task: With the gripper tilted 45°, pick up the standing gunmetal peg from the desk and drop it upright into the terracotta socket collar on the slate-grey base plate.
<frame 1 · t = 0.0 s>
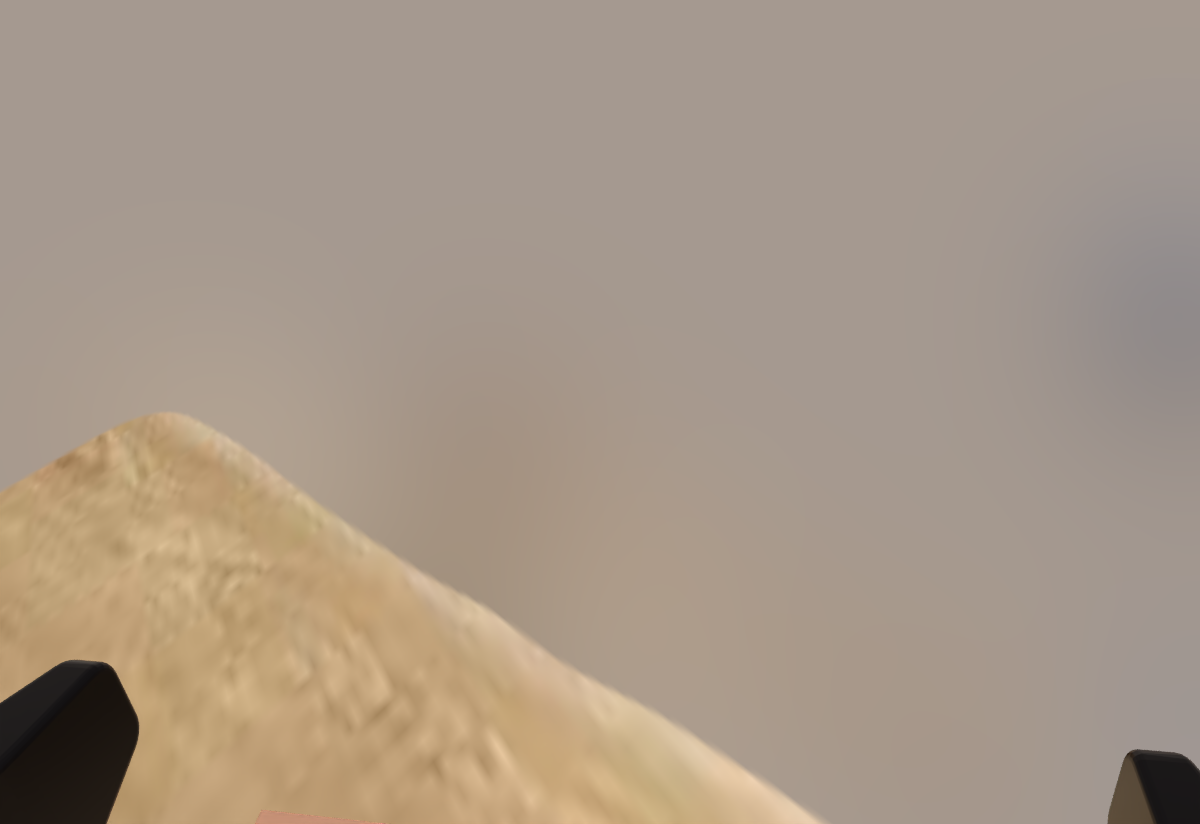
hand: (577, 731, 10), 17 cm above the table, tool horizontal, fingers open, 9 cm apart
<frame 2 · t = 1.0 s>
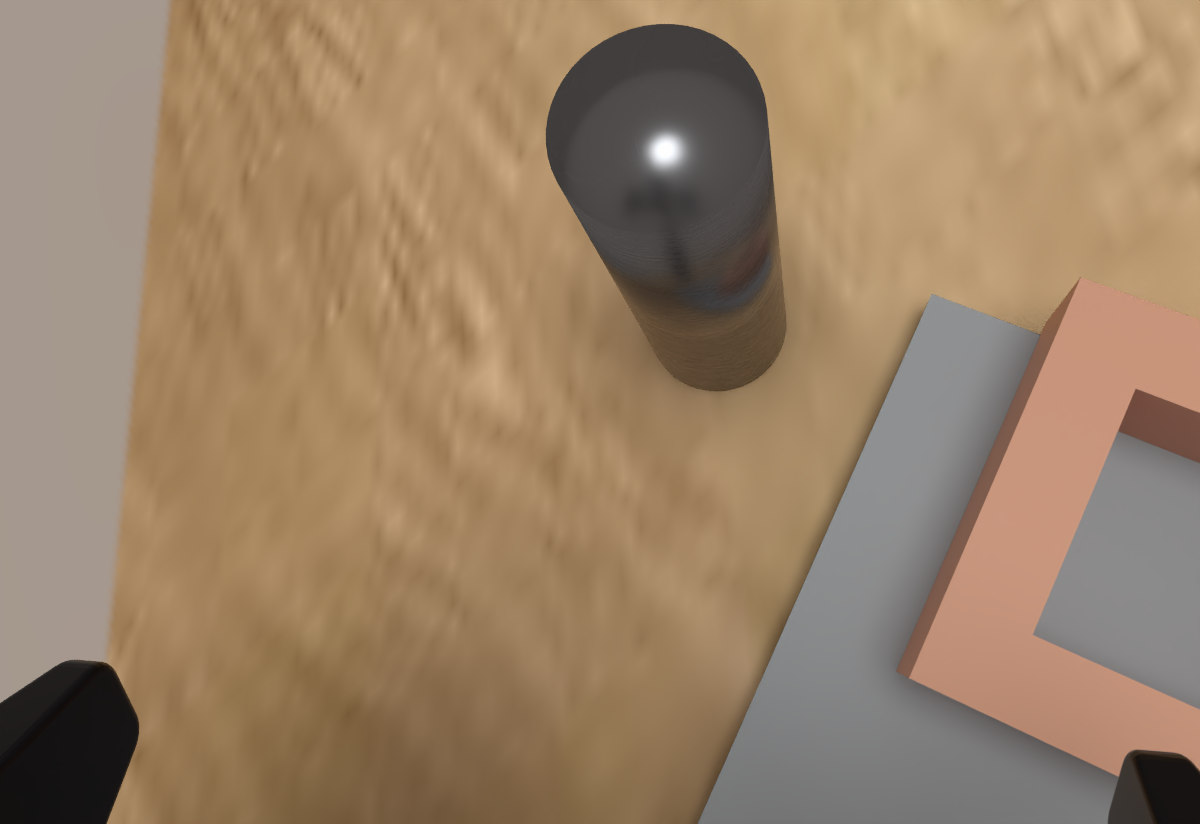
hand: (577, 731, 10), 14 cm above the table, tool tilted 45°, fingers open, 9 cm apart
peg: (717, 325, 24), on the table
socket base: (1147, 578, 22), on the table
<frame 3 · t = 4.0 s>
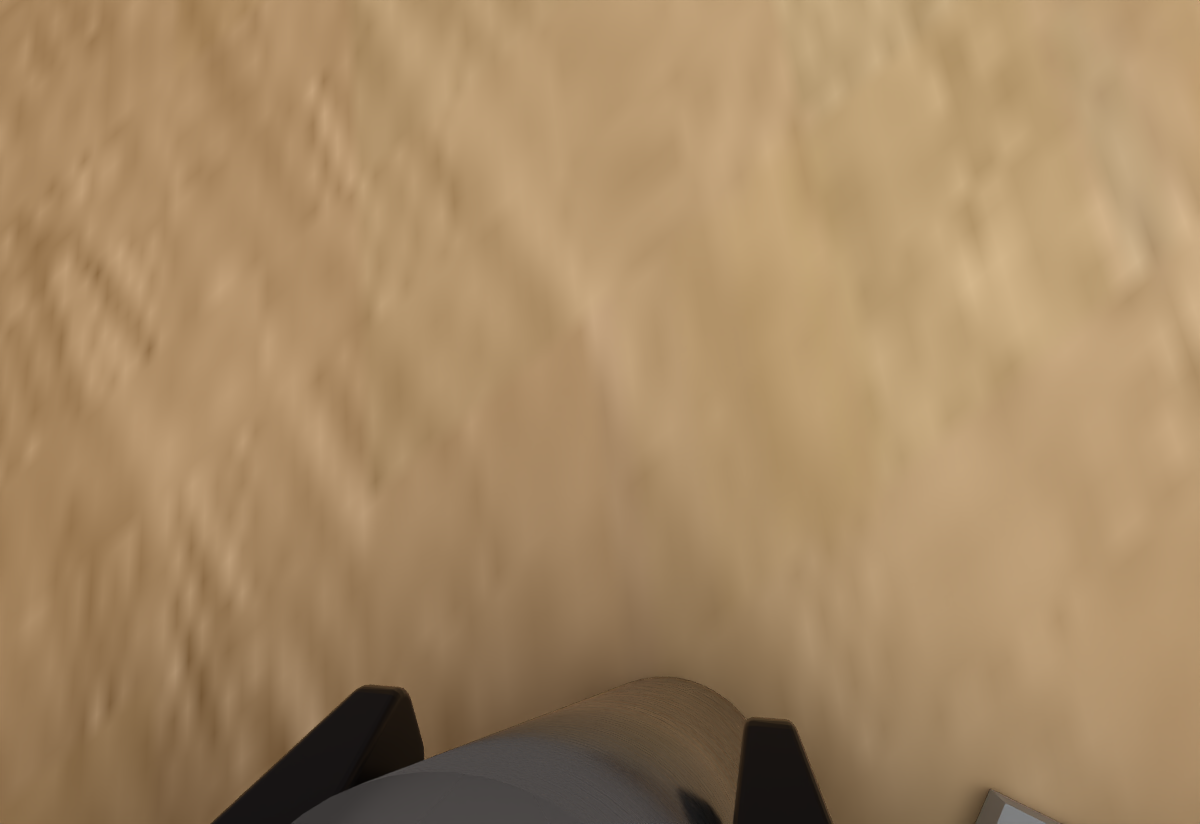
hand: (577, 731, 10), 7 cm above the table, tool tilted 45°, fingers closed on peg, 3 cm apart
peg: (664, 783, 16), on the table, touching gripper
when the fingers open (10 cm above the table, at t = 7.2 s): peg drops 2 cm, resting on socket base.
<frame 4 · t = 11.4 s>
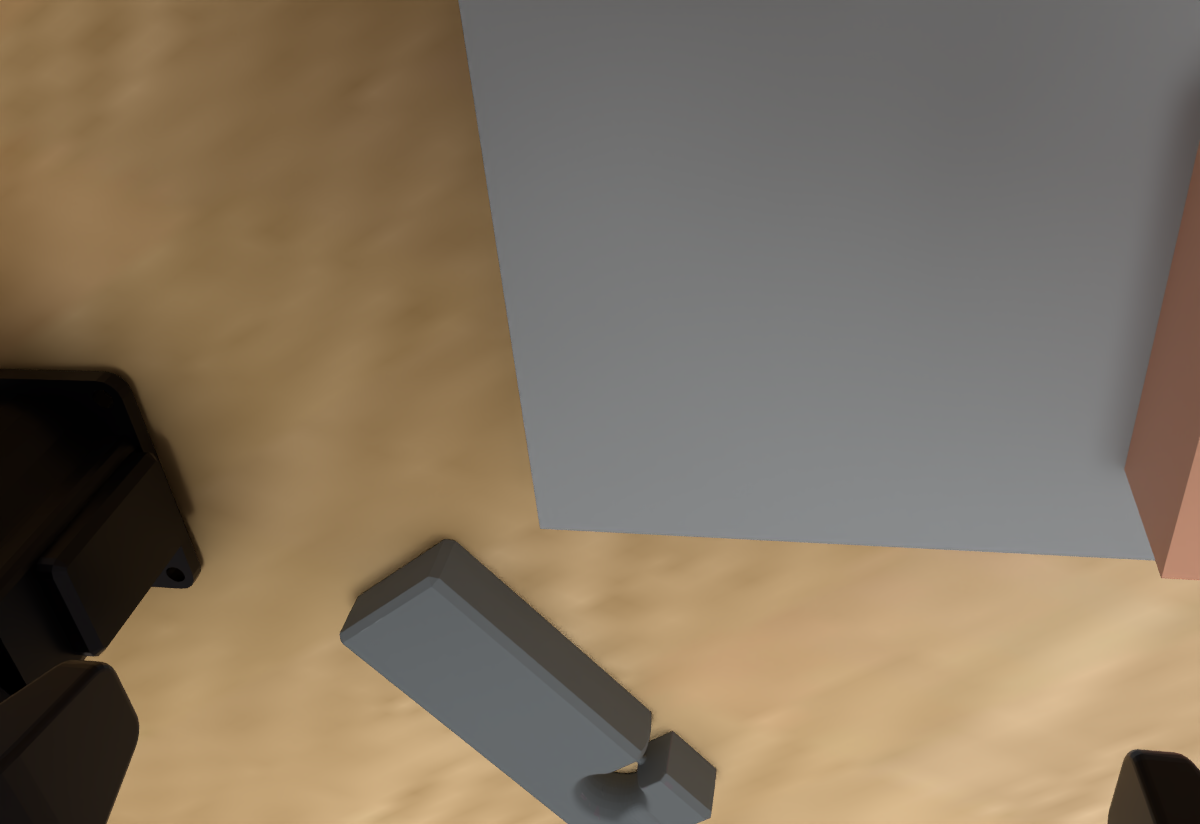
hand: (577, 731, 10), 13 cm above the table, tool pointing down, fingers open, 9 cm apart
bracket: (546, 670, 30), on the table
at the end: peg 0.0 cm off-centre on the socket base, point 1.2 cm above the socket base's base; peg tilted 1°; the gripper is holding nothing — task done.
